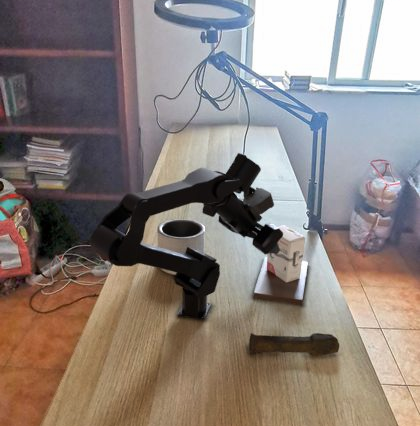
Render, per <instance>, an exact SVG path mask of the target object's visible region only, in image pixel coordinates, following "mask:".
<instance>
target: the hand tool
mask: <svg viewBox="0 0 420 426" xmlns="http://www.w3.org/2000/svg"><path fill="white" fill-rule="evenodd" d="M248 347H249V349H248V350H249V353H250V354H253V353H256V354H260V353H283V354H285V353H290V354H291V353H299V354H300V353H303V354H305V353H306V354H309V355H311V356H314V357H319V356H327V355H332V354H335V353H339V350H340V343H339V339H338V338H337V337H336V336H334V335H333V334H330V333H320V332H314V333H312V334H311V335H308V336H292V335H265V334H263V335H261V334H260V335H259V334H258V335H257V334H255V333H252V332H250V334H249V340H248Z"/></svg>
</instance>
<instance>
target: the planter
mask: <svg viewBox="0 0 420 426" xmlns="http://www.w3.org/2000/svg"><path fill="white" fill-rule="evenodd" d="M205 245H206V227H205V225H203V223H201V222H199V221H197V220H193V219H190V218H189V219H188V218H174V219H167V220H165V221H162V222H161V223H160V224H159V225H158V226H157V247H160V248H163V249H166V250H170V251H173V252H177V253H180V254H183V253H185V252H186V249H187V247H189V248H191V249H193V250H195V249H198V250H200V251H201V252H203V253H205V248H206V247H205ZM205 254H206V253H205ZM161 271H163V272H164V273H166V274H169V275H173V276H175V275H176V273H177V272H173V271H169V270H165V269H161Z"/></svg>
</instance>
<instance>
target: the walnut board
mask: <svg viewBox="0 0 420 426" xmlns="http://www.w3.org/2000/svg"><path fill="white" fill-rule="evenodd" d="M267 258H268V255H267V256H264V258H263V261H262V264H261V268H260V271H259V274H258V277H257V280H256V284H255V287H254V290H253V295H252V298H253V299H259V300H267V301H271V302H279V303H286V304H293V305H299V306H302V305H303V301H304V300H303V299H304V293H305V287H306V279H307V274H308V268H309V261H304V260H302V265H301V273H300V278H299V279H296V280H293V281H290V282H285V281H283V280H282V279H280V278H279V277H278V276H276V275H275V274H273V273H272V272H270V271H269V270H267Z"/></svg>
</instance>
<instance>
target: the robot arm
mask: <svg viewBox="0 0 420 426" xmlns="http://www.w3.org/2000/svg"><path fill="white" fill-rule="evenodd" d="M261 171H262V168H261V166H260V165H259V164H258V163H256V162H254V161H253V160H252V159H251V158H249V157H247V155H246V154H244V153H241V152H237V154H236V156H235V157H234V160H233V161H232V163H231V164H230V166H229V168H228V169H227V170H226V172H225V173H224V172H222V171H219V170H211V169H208V168H206V167H199V168H196V169H195V170H193V171H191V172H189V173H188V174H186V177H185V178H183V179H182V180H180V181H175V182H172V183H168V184H165V185H160V186H157V187H154V188H153V187H152V188H150V189H147V190H142V191H139V192H131V193H127V194H125V195H124V196H123V198H122V199H121V200H120V202H119V203H118V205H117V206H116V207H115V208H112V209H111V211H109V212H108V213H107V214H105V215H104V216H103V217H102V219H101V220H100V222H99V223H98V225H97V227H96V229H95V230H94V231H93V232H92V234H91V235H90V239H89V246H90V249H91V251H92V252H93V253H94V254H97V255H98V256H100V257H101V258H102V259H104V260H106V261H107V262H109V263H111V264H112V265H113V266H116V267H133V266H136V265H145V266H150V267H153V268H157V269H160V270H162V269H165V270H169V271H173V272H177V273H176V275H173V278H172V279H173V281H174V284H175V285H176V286H178V287H180V288H181V289H182V291H181V292H182V293H181V294H182V297H181V298H182V301H181V302H182V304H181V306H180V308H179V310H178V312H177V316H179V317H186V318H191V319H197V320H206V318H207V315H208V313H209V311H210V308H211V305H212V304H211V303H210V302H208V296H209V295H211V294H213V293H215V291H216V289H217V285H218V282H219V278H220V276H221V269H220V267H221V266H220V264H219V263H218V262H217V258H215V257H214V256H211V255H209V254H207V253H203V252H201V251H200V250H198V249H195V250H193V249H191V248H189V247H187V249H186V252H185V253H183V254H180V253H177V252H173V251H170V250H166V249H163V248H160V247H158V246H157V245H153V244H149V243H146V242H143V240H144V236H145V235H144V234H145V229H146V224H147V222H148V221H149V219H150V218H151V217H153V216H156V215H158V214H161V213H164V212H168V211H171V210H174V209H178V208H181V207H184V206H187V205H191V204H203V207H202V210H201V211H202V214H203V215H206V216H208V217H211V218H214V217H215V216H216V214H217V215H218V219H217V221H218V223H219V224H220V225H222V227H224V228H226V229H227V230H228V231H230V232H231V233H235V234H237V235H240V236H241V237H243V238H246V237H247V238H250V239H252V244H251V245H252V246H253V247H254V248H255V249H256V250H258V251H259V252H261V253H262V254H263V255H268V254H269V253H273V254H278V253H279V251H280V249H279V246H278V241H279V240H280V239H281V238H282V236H283V232H282V231H281V230H280V229H279V228H278V227H279V226H276V225H274V224H273V223H271V222H267V223H265V224H264V225H263V224H261V223H260V222H261V220H263V217H262V216H261V215H262V214H264V213H266V212H267V211H268V210H269V209H272V208H274V206H275V202H274V199H273V196H272V193H271V192H270V191H268V190H266V189H265V188H264V187H263V188H262V187H255V188H254V187H253V184H254V182H255V180H256V179H257V177H258V176H259V174H260V172H261ZM241 193H243V195H242V196H243V200H242V199H241V198H240V197H239V196H238V195H237V194H239V195H240V194H241ZM129 219H130V222H129V227H128V231H127V232H126V234H124V233H123V232H121V231H119V230H117V228H118V227H119V226H120V225H122V224H124V222H126V221H127V220H129Z"/></svg>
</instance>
